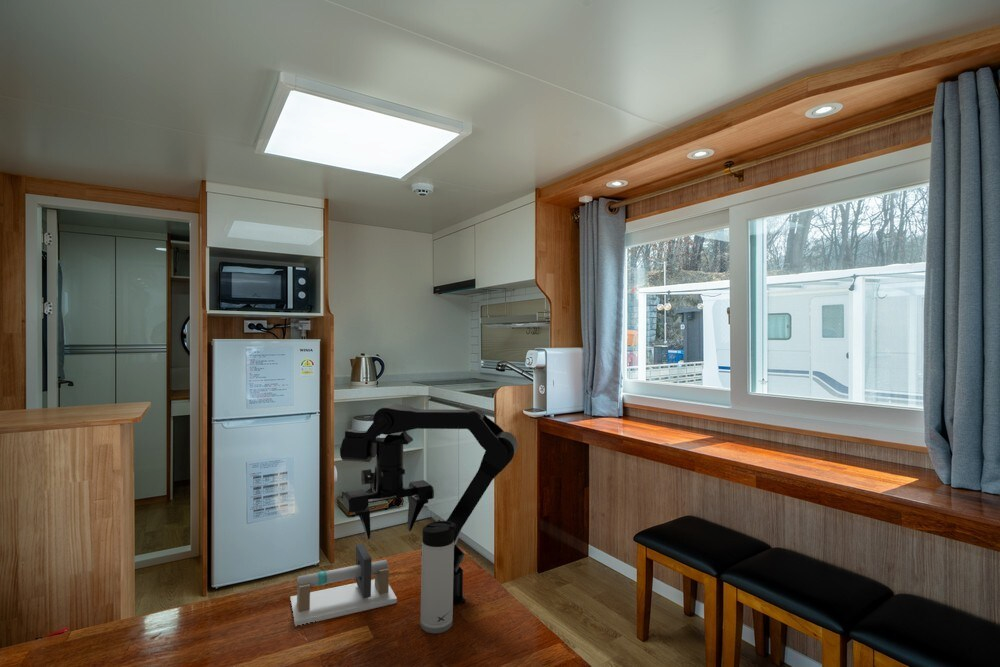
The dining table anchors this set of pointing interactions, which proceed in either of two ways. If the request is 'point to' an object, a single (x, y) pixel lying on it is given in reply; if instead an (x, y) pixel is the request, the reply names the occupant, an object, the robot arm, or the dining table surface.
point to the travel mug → (437, 576)
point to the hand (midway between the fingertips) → (389, 534)
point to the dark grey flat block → (364, 570)
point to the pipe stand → (340, 593)
